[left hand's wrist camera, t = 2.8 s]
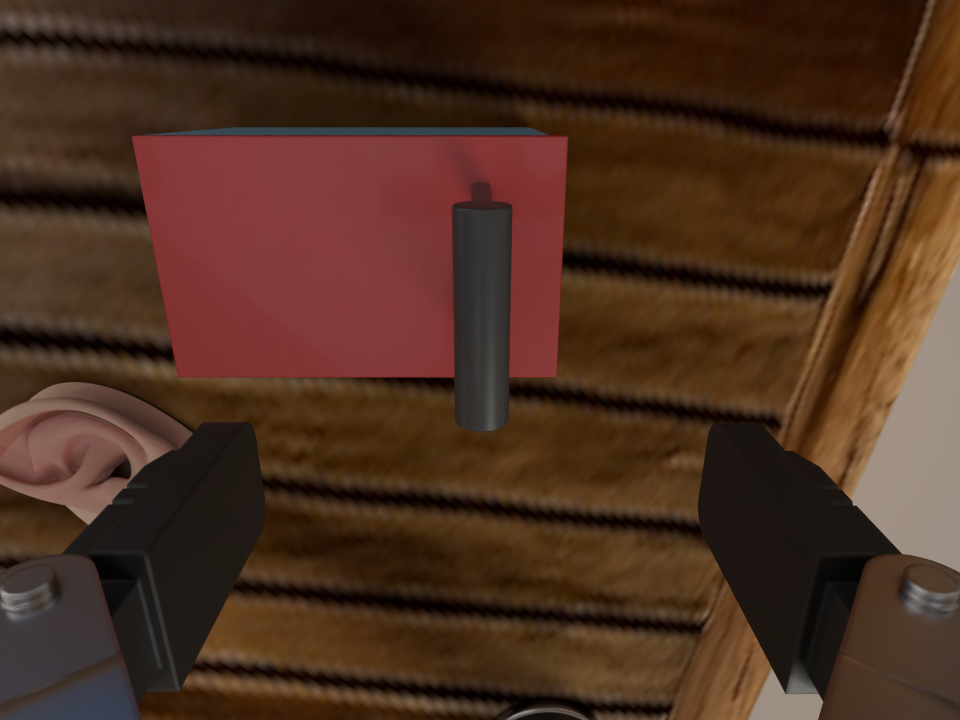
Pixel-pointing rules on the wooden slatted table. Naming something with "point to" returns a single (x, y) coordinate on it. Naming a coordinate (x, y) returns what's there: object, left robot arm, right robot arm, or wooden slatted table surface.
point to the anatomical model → (82, 444)
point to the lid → (361, 257)
